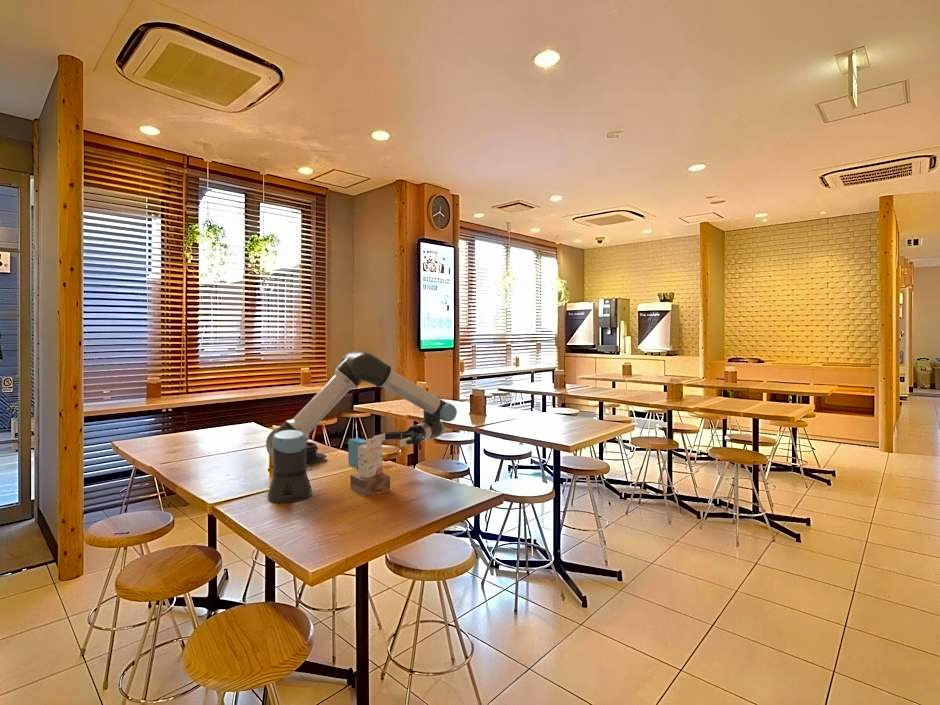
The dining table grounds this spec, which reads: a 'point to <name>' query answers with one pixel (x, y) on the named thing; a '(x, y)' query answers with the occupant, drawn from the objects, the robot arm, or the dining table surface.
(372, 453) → the ink cartridge box
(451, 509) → the dining table surface
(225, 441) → the dining table surface
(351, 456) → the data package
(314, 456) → the casserole
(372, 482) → the walnut block
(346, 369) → the robot arm
